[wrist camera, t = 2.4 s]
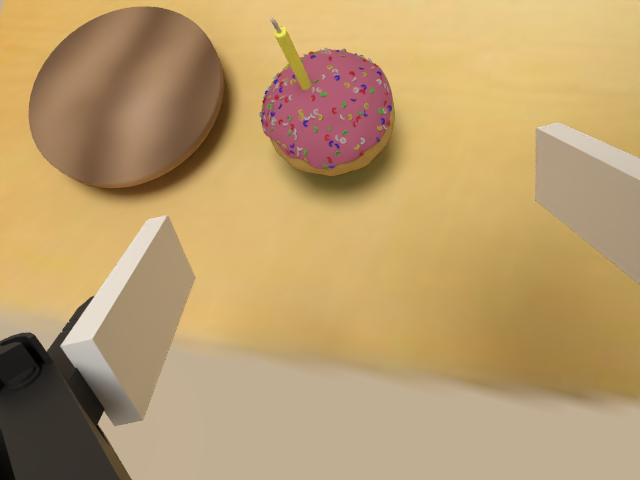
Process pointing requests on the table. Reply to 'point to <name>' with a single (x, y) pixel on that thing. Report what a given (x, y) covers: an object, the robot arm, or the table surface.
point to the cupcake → (327, 109)
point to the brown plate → (126, 97)
